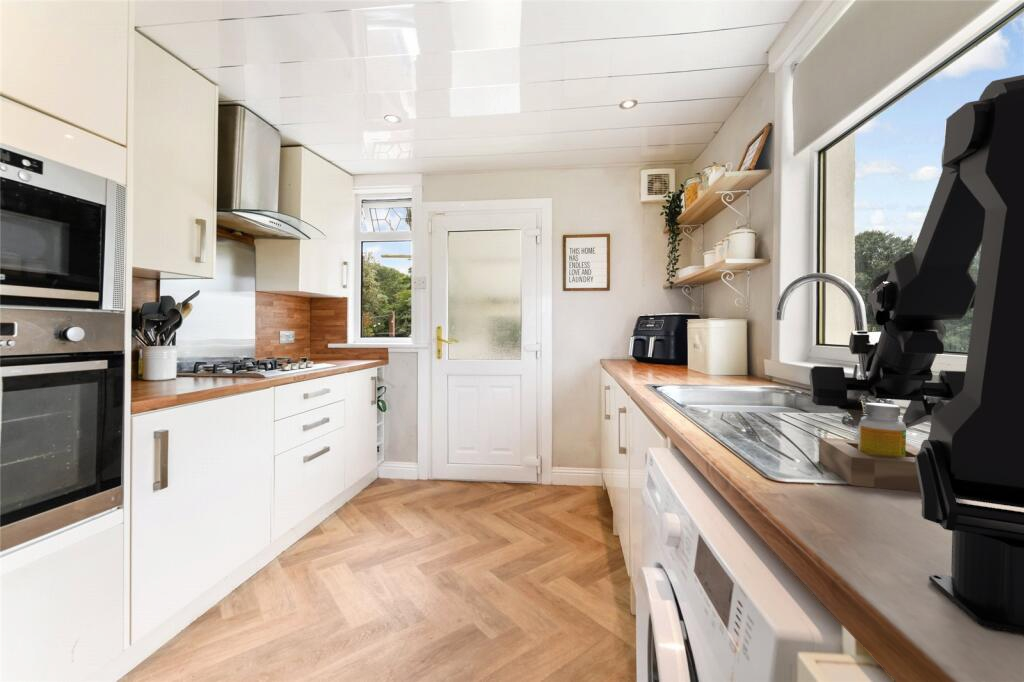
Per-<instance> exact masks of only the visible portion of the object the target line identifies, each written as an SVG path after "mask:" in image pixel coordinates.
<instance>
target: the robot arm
mask: <svg viewBox="0 0 1024 682" xmlns="http://www.w3.org/2000/svg"><path fill="white" fill-rule="evenodd" d="M944 130H945V131H944V143H943V148H942V153H941V169H942V171H941V173H940V176H939V179H938V182H937V184H936V188H935V189H934V190H935V191H934V193H933V196H932V198H931V202H930V204H929V207H928V210H927V212H926V216H925V218H924V220H923V223H922V225H921V228H920V232H919V234H918V237H917V240H916V243H915V245H914V247H913V250H912V251H911V252H910V253H908V254H907V255H905V256H904V257H902V258H901V259H899V260H897V261H896V262H895V263H893V265H892V266H891V268H890V271H889V272H886V273H884V274H882V275H879V276H878V277H876V278H875V279H873V281H872V282H871V283H869V285H868V289H867V290H868V293H867V303H868V304H871V307H872V310H873V311H872V312H873V315H874V316H873V317H874V320H875V322H876V324H877V325H878V326H882V329H881V330H880V331H869V332H868V331H867V330H851V332H850V337H849V342H848V343H849V345H848V348H849V351H850V353H851V355H860V356H861V355H864V357H865V360H864V363H863V369H864V372H866V373H868V372H869V373H868V375H865V377H864V379H863V378H857V377H849V376H847V377H846V375H845V374H846V373H845V370H844V366H834V365H833V366H832V365H831V366H830V365H828V366H827V365H814V366H813V367H811V368H810V369H809V387H810V396H811V402H812V403H813V404H814V405H816V406H821V407H822V406H823V407H835V408H837V409H839V410H843V411H846V412H847V413H848V414H849V416H851V418H852V421H853V422H854V424H855V425H859V422H860V421H861V418H862V417H863V415H862V414H863V410H864V408H863V404H862V397H873V398H875V399H881V400H897V401H910V402H909V404H908V406H907V408H906V410H905V412H904V414H903V416H902V420H901V421H902V422H904V423H905V425H906V429H909V428H912V427H915V426H918V425H921V424H924V423H927V422H930V428H929V429H930V430H929V434H928V437H927V439H924V440H923V441H922V442H921V444H920V448H919V449H920V451H919V453H918V454H917V455H916V456H915V463H916V468H917V474H918V479H919V484H920V489H921V492H920V495H921V497H920V498H921V517H922V519H924V520H927V521H929V522H931V523H932V522H933V523H934V524H938V525H939V526H940V527H942V529H943V530H945V531H952V533H951V534H952V535H951V536H952V537H951V565H950V566H951V567H950V568H951V569H950V572H951V576H950V575H941V574H936V573H929V574H928V581H929V582H931V584H933V585H934V586H935V587H936V588H938V589H939V591H941V592H942V593H943V594H944V595H946V597H948V598H949V599H950V600H951V601H952V602H953V603H954V604H956V605H957V606H958V607H959V608H960V609H961V610H963V612H964V613H966V614H967V615H968V616H969V617H971V619H972V620H974V621H975V622H977V624H979V625H981V626H983V627H985V628H990V629H995V630H1002V631H1006V632H1013V633H1018V634H1019V633H1020V634H1024V511H1019V510H1012V509H1005V508H998V507H993V506H987V505H986V506H985V505H984V506H983V505H979V504H971V503H964V502H957V500H956V499H958V500H965V501H970V502H971V501H972V502H978V503H986V504H992V505H994V504H995V505H1000V506H1007V507H1013V508H1022V509H1024V74H1022V75H1015V76H1010V77H1006V78H1000V79H996V80H992V81H990V83H989V84H987V86H986V87H985V88H984V90H983V91H982V93H981V95H980V96H979V99H978V100H974V101H969V102H966V103H964V104H963V105H962V106H961V107H960V108H957V110H956V111H954V112H953V113H952V114H951V115H950V116H948V117H947V118H946V119H945V128H944ZM979 251H980V254H979V262H978V271H977V279H975V278H974V275H973V272H972V270H971V266H972V264H973V262H974V260H975V258H976V256H977V253H978V252H979ZM969 311H972V318H971V327H970V332H969V333H970V335H969V342H968V350H967V357H966V358H967V359H966V367H965V370H949V369H948V370H947V369H946V370H943V369H940V371H939V373H938V375H936V374H935V375H934V374H933V371H932V366H933V363H934V362H935V359H936V357H937V355H942V354H944V353H945V345H944V338H945V335H946V332H947V328H946V325H945V324H944V323H943V322H942V321H958V320H959V321H960V320H962V319H963V318H964V317H966V315H967V314H968V312H969Z"/></svg>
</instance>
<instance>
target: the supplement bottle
mask: <svg viewBox="0 0 1024 682" xmlns="http://www.w3.org/2000/svg"><path fill="white" fill-rule="evenodd" d="M864 411H865V413H866V416H861V421H860V422H859V424H858V435H857V436H858V437H857V438H858V439H857V440H858V450H860V451H861V452H863V453H865V454H875V455H889V456H902V457H905V455H906V443H907V428H906V425H905V423H904V422H902V420H900V419H899V417H900V416H901V406H900V405H896V404H891V403H885V402H884V403H883V402H882V403H881V402H865V404H864Z"/></svg>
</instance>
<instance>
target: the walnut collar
mask: <svg viewBox="0 0 1024 682" xmlns="http://www.w3.org/2000/svg"><path fill="white" fill-rule="evenodd" d="M818 443H819V444H818V462H819V463H821V464H822V465H823V466H825V467H826V468H827V469H829V470H830V471H831V472H833V473H834V474H835V475H837V476H838V477H840V479H842V478H843V479H845V480H846V481H847V482H848V483H847V482H846V481H845V480H844V481H845V482H846V483H847V484H849V485H851V486H854V487H856V486H857V487H864V488H865V487H866V488H876V489H884V490H885V489H886V490H898V491H906V492H908V491H909V492H919V493H921V489H920V484H919V479H918V474H917V468H916V463H915V456H916V455H917V454H918V453H919V451H920V448H919V447H916V446H915V445H912V444H910V443H907V442H906V455H905V457H902V456H889V455H875V454H865V453H863V452H861V451H860V450H858V439H847V438H835V437H834V438H832V437H821V436H820V437H819V441H818ZM843 479H842V480H843Z"/></svg>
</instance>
